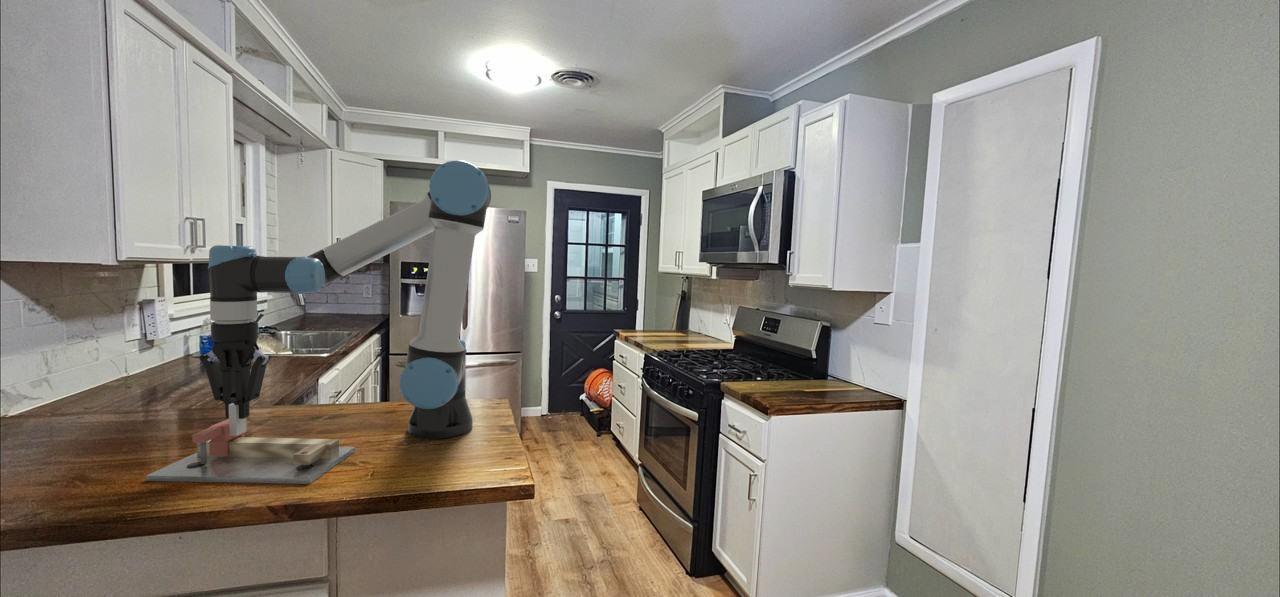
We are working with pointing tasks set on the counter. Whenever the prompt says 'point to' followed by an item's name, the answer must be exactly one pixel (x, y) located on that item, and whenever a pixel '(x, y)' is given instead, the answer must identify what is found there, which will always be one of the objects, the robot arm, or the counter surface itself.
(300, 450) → the beam with fixed leg
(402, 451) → the counter surface
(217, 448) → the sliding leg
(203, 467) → the steel plate
